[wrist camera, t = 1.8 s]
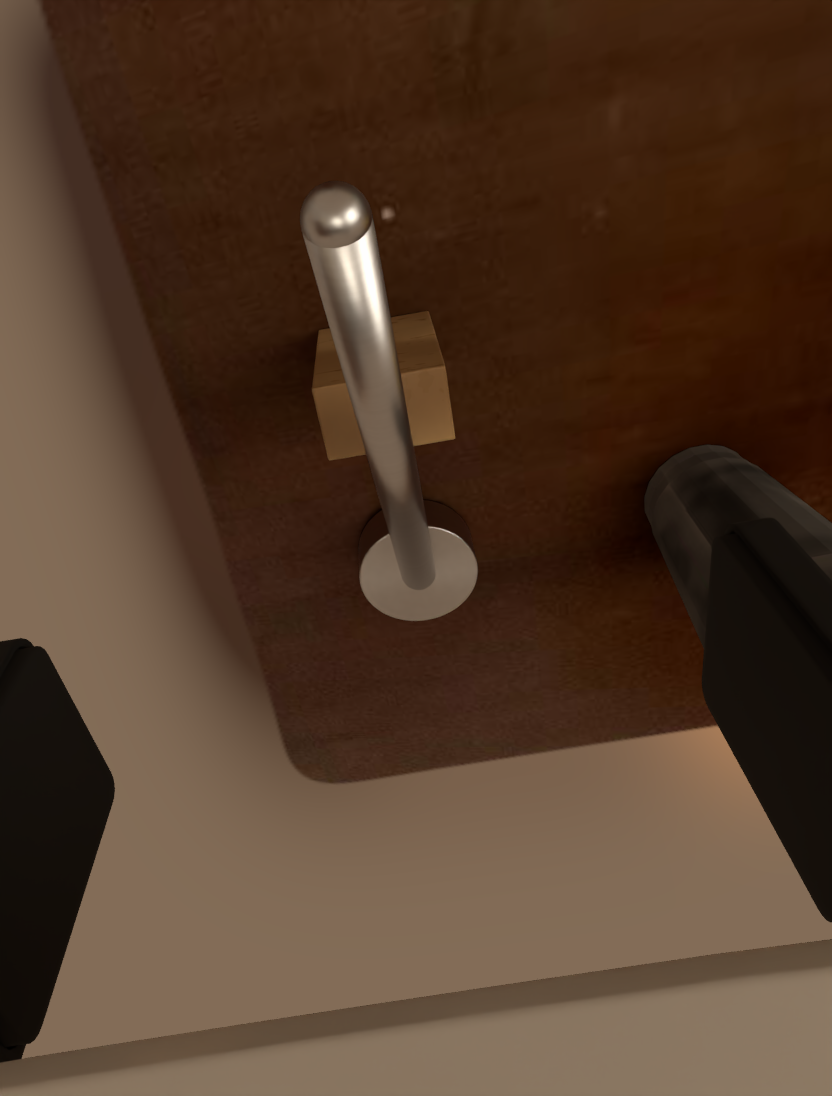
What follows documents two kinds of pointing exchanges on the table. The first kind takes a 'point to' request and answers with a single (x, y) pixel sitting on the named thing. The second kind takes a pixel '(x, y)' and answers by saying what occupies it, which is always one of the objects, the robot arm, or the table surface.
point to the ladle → (383, 419)
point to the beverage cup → (721, 516)
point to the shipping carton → (419, 382)
